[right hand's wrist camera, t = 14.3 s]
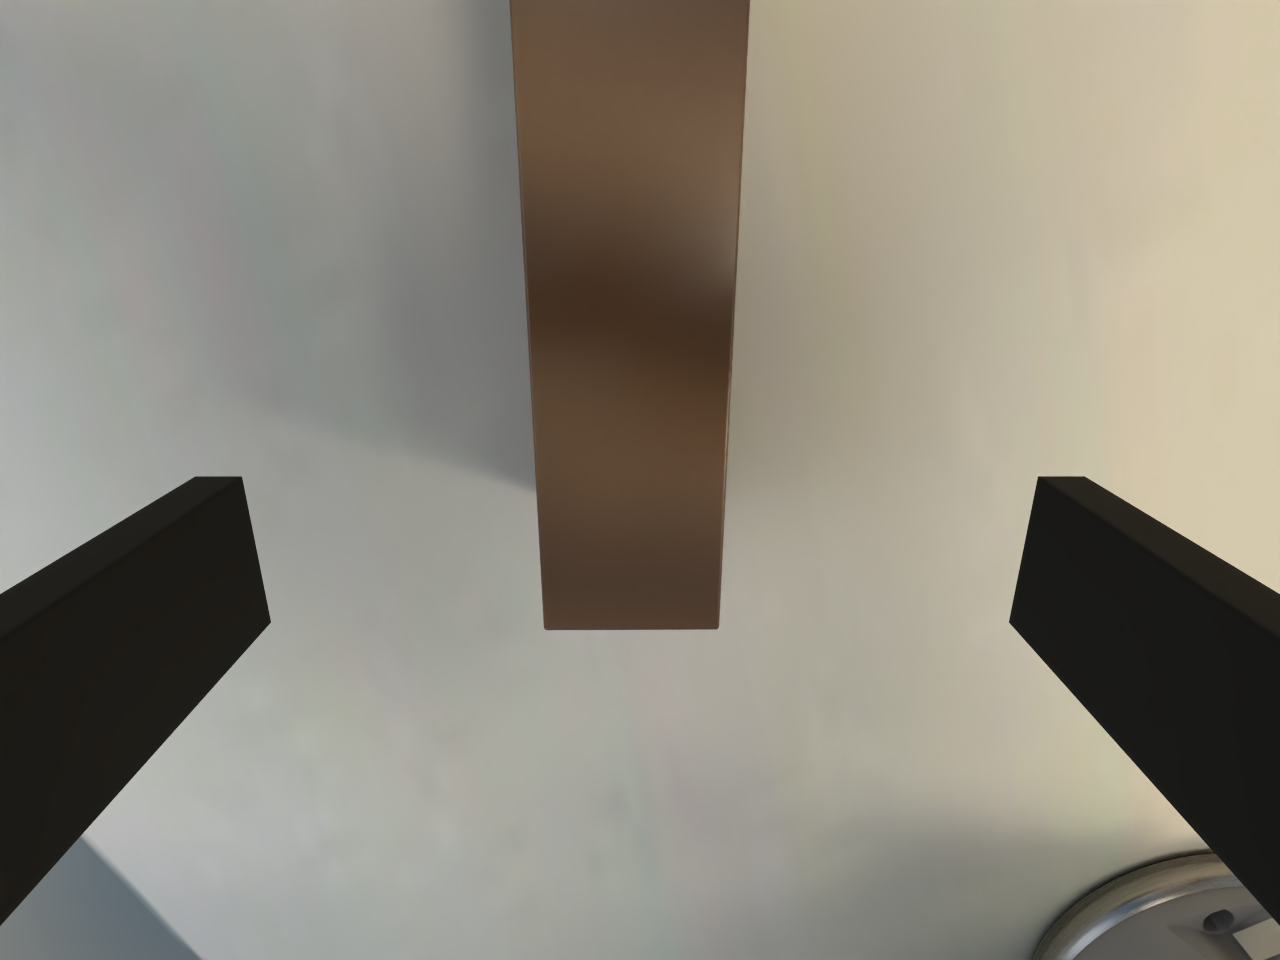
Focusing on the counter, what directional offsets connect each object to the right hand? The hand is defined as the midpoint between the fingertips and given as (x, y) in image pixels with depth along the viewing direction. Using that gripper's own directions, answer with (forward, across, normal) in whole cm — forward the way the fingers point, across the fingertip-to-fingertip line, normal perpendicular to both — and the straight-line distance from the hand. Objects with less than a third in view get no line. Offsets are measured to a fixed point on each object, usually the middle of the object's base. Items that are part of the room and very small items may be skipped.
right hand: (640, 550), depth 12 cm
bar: (+13, 0, -32) cm, 35 cm away
